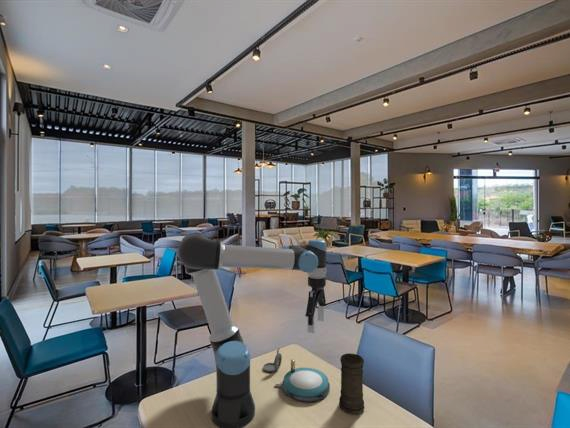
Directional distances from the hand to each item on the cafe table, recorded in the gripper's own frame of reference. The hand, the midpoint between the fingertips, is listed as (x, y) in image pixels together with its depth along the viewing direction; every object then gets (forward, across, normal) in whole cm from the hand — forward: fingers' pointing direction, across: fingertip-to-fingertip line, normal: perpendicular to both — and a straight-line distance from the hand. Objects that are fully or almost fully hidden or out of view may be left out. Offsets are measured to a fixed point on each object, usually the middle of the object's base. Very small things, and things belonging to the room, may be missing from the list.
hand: (316, 326), depth 131 cm
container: (+22, -13, -18) cm, 31 cm away
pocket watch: (+22, -2, +19) cm, 30 cm away
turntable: (+20, -8, +1) cm, 22 cm away
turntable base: (+22, -9, +3) cm, 24 cm away
